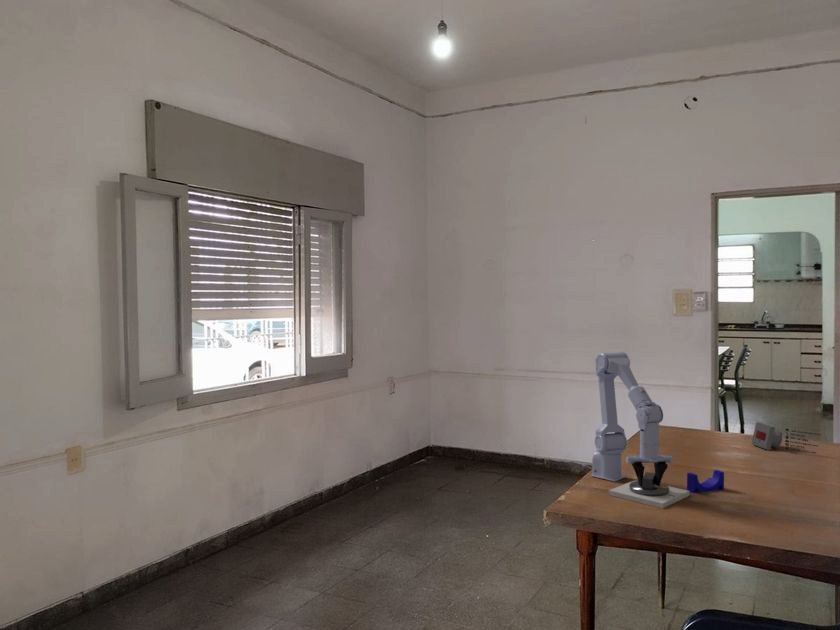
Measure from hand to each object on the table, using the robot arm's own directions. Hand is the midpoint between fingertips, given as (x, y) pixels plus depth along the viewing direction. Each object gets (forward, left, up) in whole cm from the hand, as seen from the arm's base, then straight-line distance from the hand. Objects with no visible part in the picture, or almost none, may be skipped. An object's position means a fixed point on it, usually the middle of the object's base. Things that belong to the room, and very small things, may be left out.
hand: (649, 485), depth 206 cm
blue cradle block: (+10, +19, -4) cm, 21 cm away
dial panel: (0, 0, -3) cm, 3 cm away
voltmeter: (+10, +93, -3) cm, 94 cm away
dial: (0, 0, -1) cm, 1 cm away
